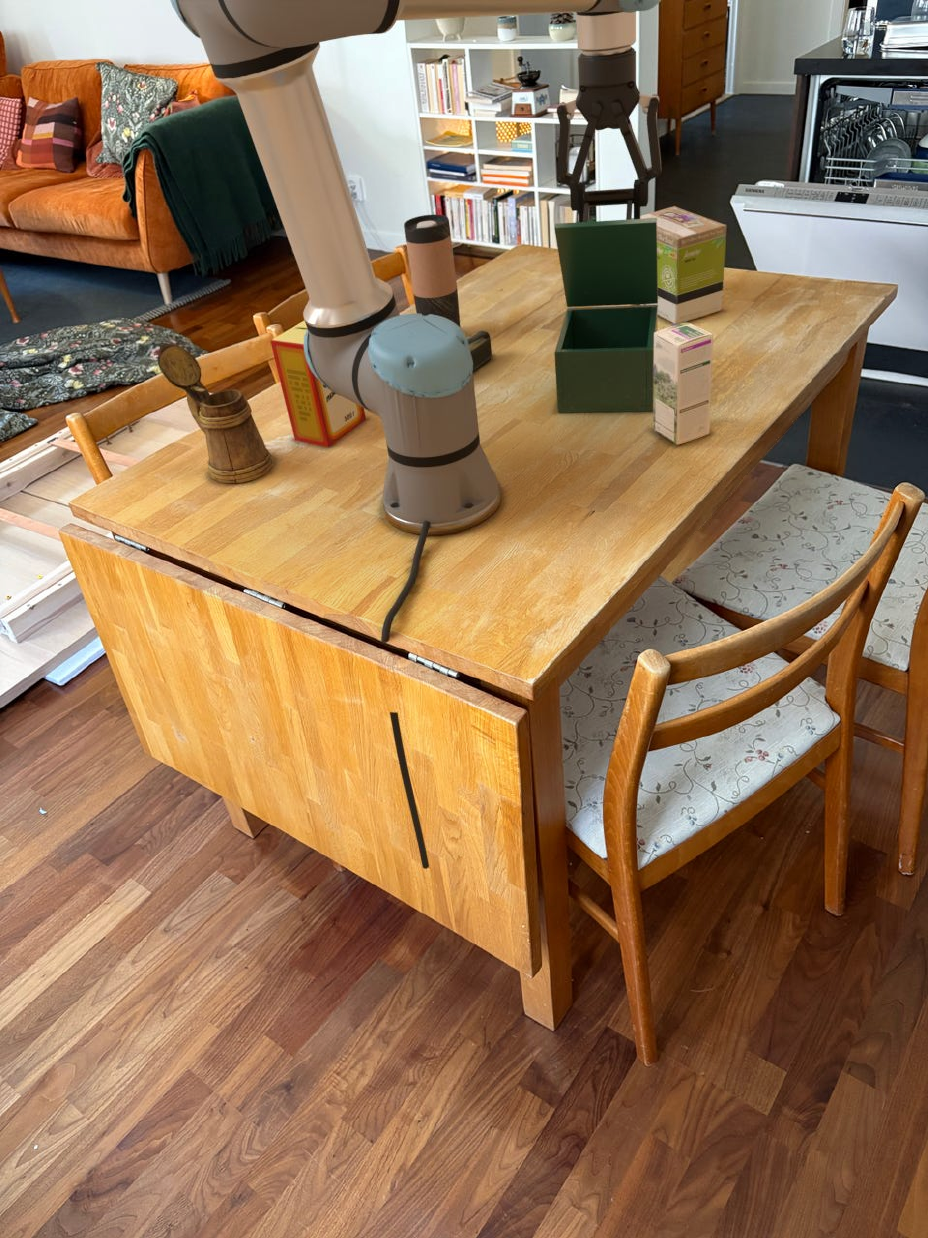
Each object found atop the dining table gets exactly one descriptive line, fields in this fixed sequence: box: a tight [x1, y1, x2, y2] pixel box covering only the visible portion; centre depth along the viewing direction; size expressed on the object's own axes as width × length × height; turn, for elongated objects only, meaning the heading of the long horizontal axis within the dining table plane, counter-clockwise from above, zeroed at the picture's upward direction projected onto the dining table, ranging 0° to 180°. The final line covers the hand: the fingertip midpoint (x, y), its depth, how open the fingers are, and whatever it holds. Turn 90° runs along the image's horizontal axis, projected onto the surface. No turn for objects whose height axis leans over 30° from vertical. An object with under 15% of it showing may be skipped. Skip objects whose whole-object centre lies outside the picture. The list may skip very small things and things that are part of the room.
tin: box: [554, 304, 659, 414], centre depth 143 cm, size 17×14×9 cm
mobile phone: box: [467, 330, 493, 372], centre depth 155 cm, size 5×3×15 cm
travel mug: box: [403, 214, 462, 329], centre depth 163 cm, size 8×8×20 cm
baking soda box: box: [269, 319, 367, 448], centre depth 140 cm, size 10×6×16 cm
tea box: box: [632, 205, 727, 325], centre depth 164 cm, size 15×10×15 cm, turn 25°
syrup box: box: [653, 321, 714, 446], centre depth 128 cm, size 6×6×14 cm
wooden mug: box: [157, 342, 274, 484], centre depth 134 cm, size 9×14×18 cm, turn 59°
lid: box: [553, 187, 658, 308], centre depth 139 cm, size 18×14×8 cm
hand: (609, 231), depth 138 cm, fingers closed on lid, 7 cm apart
